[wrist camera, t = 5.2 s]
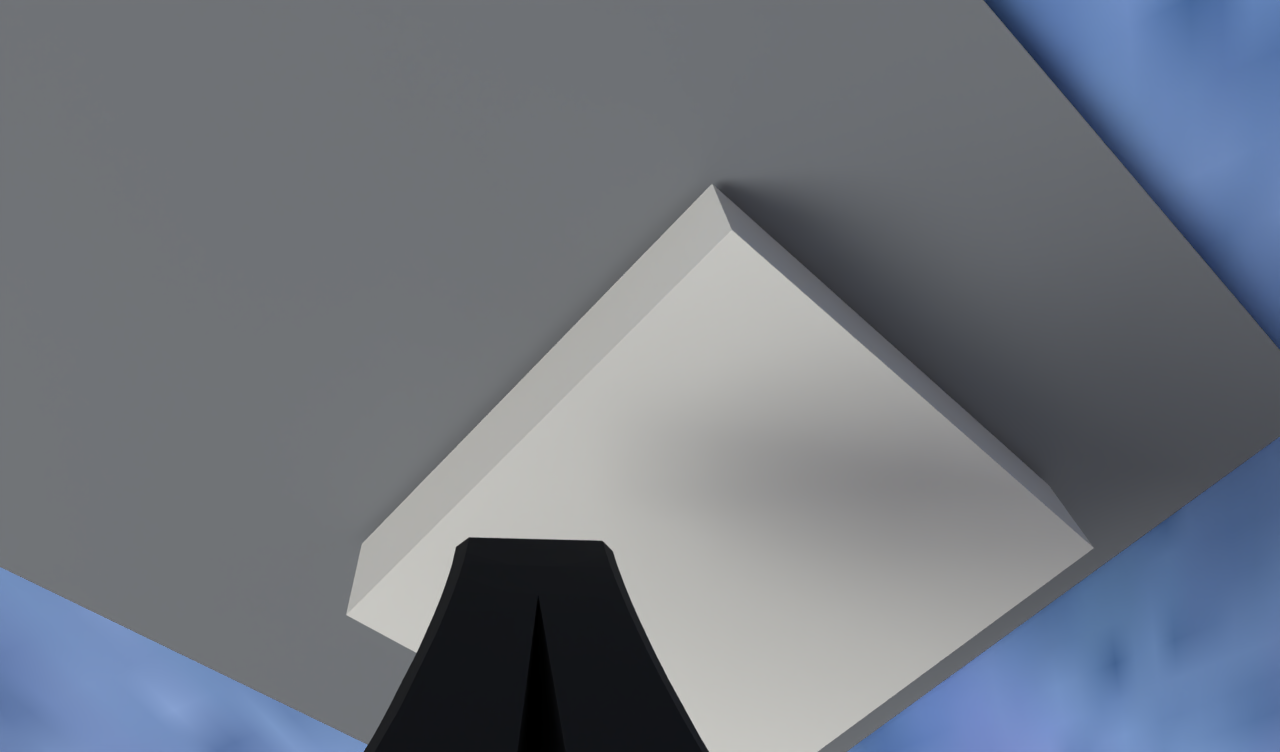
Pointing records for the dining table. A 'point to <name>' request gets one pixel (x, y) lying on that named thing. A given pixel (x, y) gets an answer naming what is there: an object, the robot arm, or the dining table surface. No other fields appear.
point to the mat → (531, 277)
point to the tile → (742, 491)
